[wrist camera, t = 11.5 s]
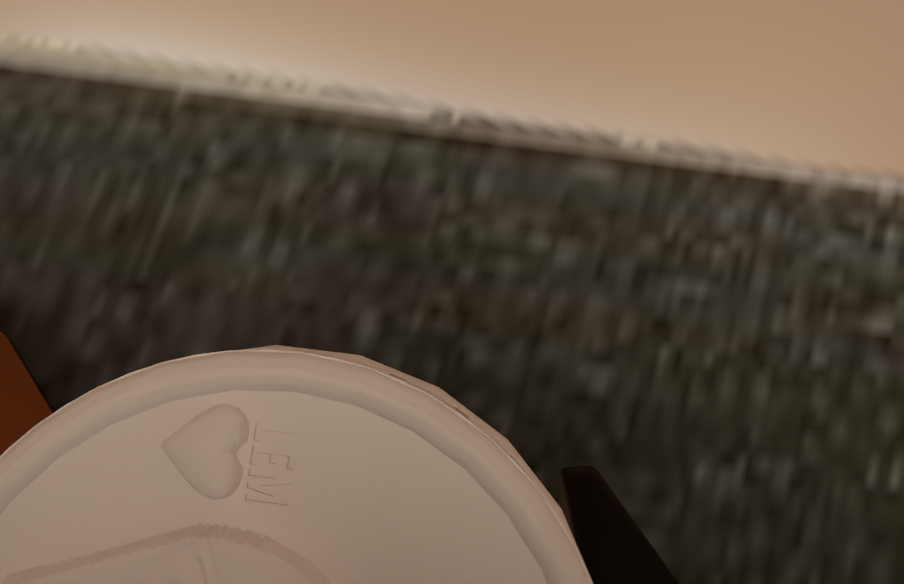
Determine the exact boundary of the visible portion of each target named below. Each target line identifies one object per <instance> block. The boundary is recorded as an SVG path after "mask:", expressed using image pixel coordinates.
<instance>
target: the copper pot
mask: <svg viewBox="0 0 904 584" xmlns="http://www.w3.org/2000/svg"><path fill="white" fill-rule="evenodd" d="M51 414H53V413H52V411H51V409H50V408H49V406H48V404H47V403H46V401H45V399H44V398H43V396H42V394H41V393H40V391H39V389H38V388H37V386H36V384H35V383H34V381H33V379H32V378H31V376H30V374H29V373H28V371H27V370H26V368H25V366H24V365H23V363H22V361H21V360H20V358H19V356H18V355H17V353H16V351H15V350H14V348H13V346H12V345H11V343H10V341H9V340H8V338H7V337H6V335H4V334H3V333H2V332H0V456H1V455H2V454H3V453H4V452H5V451H6V450H7V449H8V448H9V447H10V446H11V445H13V444H14V443H15V442H16V441H17V440H19V439H20V438H21V437H22V436H23V435H25V434H26V433H27V432H28V431H29V430H31V429H32V428H33V427H34V426H35V425H37V424H38V423H40V422H41V421H43V420H44V419H46V418H47V417H48V416H50V415H51Z"/></svg>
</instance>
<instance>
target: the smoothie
mask: <svg viewBox="0 0 904 584" xmlns="http://www.w3.org/2000/svg"><path fill="white" fill-rule="evenodd" d="M0 584H594V583H593V581H592V579H591V576H590V574H589V572H588V570H587V567H586V565H585V563H584V560H583V558H582V556H581V553H580V551H579V549H578V546H577V544H576V542H575V539H574V537H573V535H572V532H571V530H570V528H569V525H568V523H567V521H566V518H565V516H564V514H563V511H562V509H561V508H560V506H559V505H558V504H557V502H556V501H555V500H554V499H553V497H552V496H551V495H550V493H549V492H548V491H547V490H546V488H545V487H544V486H543V484H542V483H541V482H540V481H539V479H538V478H537V477H536V475H535V474H534V473H533V471H532V470H531V469H530V468H529V466H528V465H527V464H526V462H525V461H524V460H523V459H522V457H521V456H520V455H519V453H518V452H517V451H516V450H515V448H514V447H513V446H512V444H511V443H510V442H509V441H508V439H506V438H505V437H504V436H502V435H501V434H500V433H499V432H497V431H496V430H495V429H493V428H492V427H491V426H489V425H488V424H487V423H485V422H484V421H483V420H481V419H480V418H479V417H477V416H476V415H475V414H474V413H472V412H471V411H470V410H468V409H467V408H466V407H464V406H463V405H462V404H460V403H459V402H458V401H456V400H455V399H454V398H452V397H451V396H450V395H449V394H447V393H446V392H445V391H443V390H442V389H441V388H439V387H437V386H435V385H432V384H430V383H427V382H425V381H422V380H420V379H417V378H415V377H413V376H410V375H408V374H405V373H403V372H400V371H398V370H395V369H393V368H390V367H388V366H386V365H383V364H381V363H378V362H376V361H373V360H371V359H368V358H366V357H364V356H361V355H354V354H346V353H338V352H330V351H322V350H314V349H306V348H297V347H289V346H281V345H272V346H265V347H258V348H251V349H244V350H230V351H222V352H214V353H206V354H198V355H193V356H188V357H184V358H179V359H175V360H171V361H166V362H162V363H159V364H156V365H153V366H150V367H147V368H144V369H141V370H137V371H134V372H131V373H128V374H126V375H124V376H122V377H119V378H117V379H115V380H113V381H110V382H108V383H106V384H103V385H101V386H99V387H97V388H95V389H93V390H91V391H89V392H88V393H86V394H84V395H82V396H80V397H79V398H77V399H75V400H73V401H71V402H70V403H68V404H66V405H64V406H63V407H62V408H60V409H59V410H57V411H56V412H54V413H53V414H51V415H50V416H48V417H47V418H46V419H44V420H43V421H41V422H40V423H38V424H37V425H35V426H34V427H33V428H32V429H31V430H29V431H28V432H27V433H26V434H25V435H23V436H22V437H21V438H20V439H19V440H17V441H16V442H15V443H14V444H13V445H11V446H10V447H9V448H8V449H7V450H6V451H5V452H4V453H3V454H2V455H1V456H0Z"/></svg>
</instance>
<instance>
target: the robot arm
mask: <svg viewBox="0 0 904 584" xmlns="http://www.w3.org/2000/svg"><path fill="white" fill-rule="evenodd" d="M557 504H558V505H559V506H560V508H561V509H562V511H563V514H564V516H565V518H566V521H567V523H568V525H569V528H570V530H571V532H572V535H573V537H574V539H575V542H576V544H577V546H578V549H579V551H580V553H581V556H582V558H583V560H584V563H585V565H586V567H587V570H588V572H589V574H590V576H591V579H592V581H593V583H594V584H679V583H678V581H677V580H676V579H675V577H674V576H673V574H672V573H671V572H670V570H669V569H668V568H667V566H666V565H665V563H664V562H663V561H662V559H661V558H660V556H659V555H658V554H657V552H656V551H655V550H654V548H653V547H652V545H651V544H650V543H649V541H648V540H647V538H646V537H645V536H644V534H643V533H642V532H641V530H640V529H639V527H638V526H637V525H636V523H635V522H634V520H633V519H632V518H631V516H630V515H629V514H628V512H627V511H626V509H625V508H624V507H623V505H622V504H621V502H620V501H619V500H618V498H617V497H616V496H615V494H614V493H613V491H612V490H611V489H610V487H609V486H608V484H607V483H606V482H605V480H604V479H603V478H602V476H601V475H600V473H599V472H598V471H597V470H596V469H595V468H593V467H591V466H582V467H566V468H563V469H562V470H561V471H560V474H559V485H558V499H557Z"/></svg>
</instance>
